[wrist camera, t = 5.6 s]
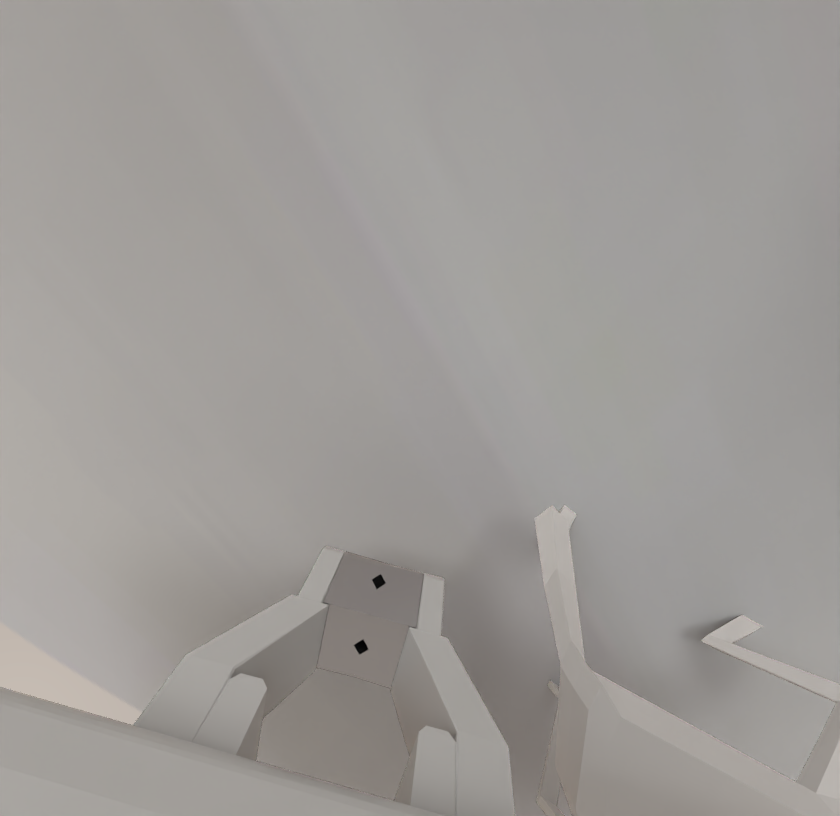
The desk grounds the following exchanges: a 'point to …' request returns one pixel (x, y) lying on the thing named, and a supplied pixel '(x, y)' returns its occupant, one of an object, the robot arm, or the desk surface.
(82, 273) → the desk surface
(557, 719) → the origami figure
